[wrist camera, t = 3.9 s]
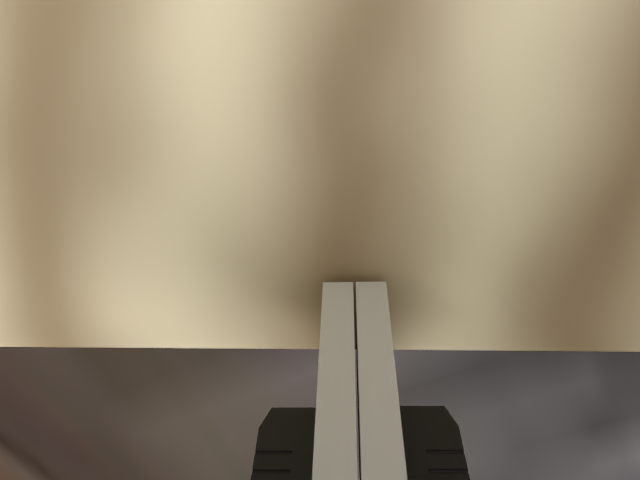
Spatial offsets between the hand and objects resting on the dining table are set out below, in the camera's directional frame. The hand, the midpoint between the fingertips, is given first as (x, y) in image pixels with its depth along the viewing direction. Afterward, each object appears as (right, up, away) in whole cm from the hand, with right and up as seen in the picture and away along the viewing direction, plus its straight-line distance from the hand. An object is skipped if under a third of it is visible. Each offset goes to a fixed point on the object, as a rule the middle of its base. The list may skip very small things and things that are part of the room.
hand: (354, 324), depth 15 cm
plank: (0, +4, 0) cm, 4 cm away
